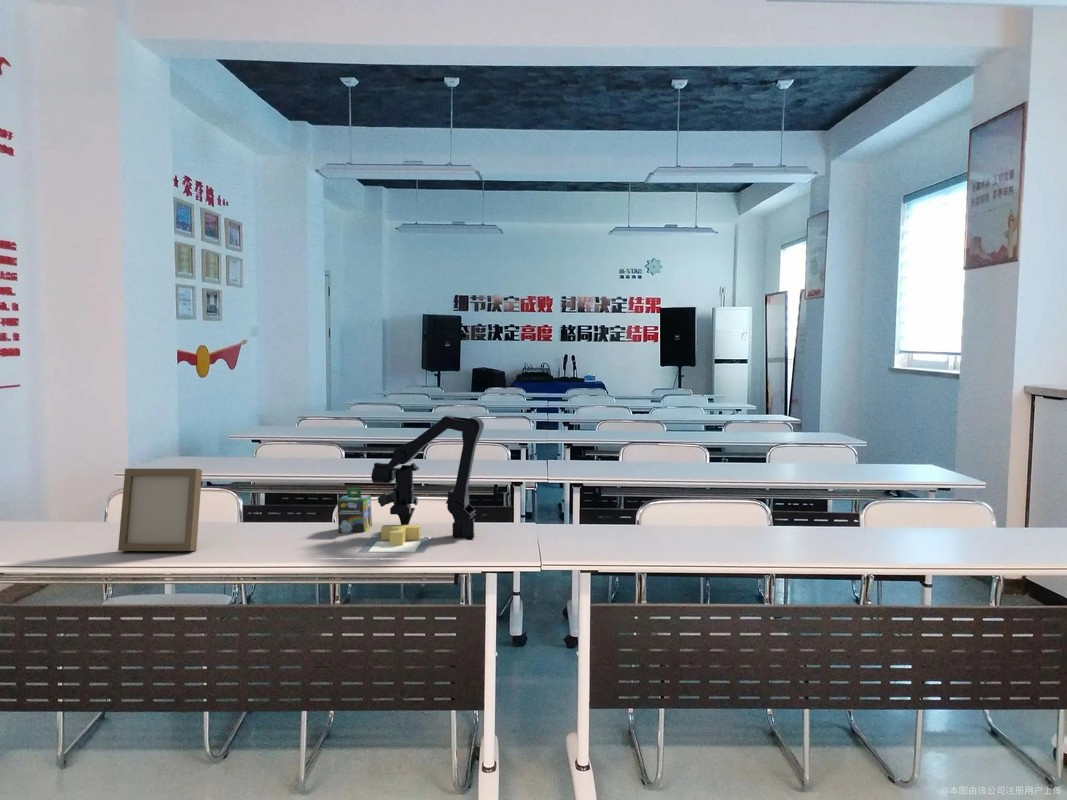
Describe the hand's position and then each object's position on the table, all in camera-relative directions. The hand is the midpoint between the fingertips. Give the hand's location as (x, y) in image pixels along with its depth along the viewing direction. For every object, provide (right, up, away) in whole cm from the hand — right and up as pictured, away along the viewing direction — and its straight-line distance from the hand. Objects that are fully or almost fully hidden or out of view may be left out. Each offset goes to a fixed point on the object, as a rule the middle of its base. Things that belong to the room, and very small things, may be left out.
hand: (404, 530), depth 268 cm
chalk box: (-18, -1, +7) cm, 19 cm away
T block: (0, -2, -10) cm, 10 cm away
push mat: (0, -2, -14) cm, 14 cm away
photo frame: (-71, -3, -17) cm, 73 cm away
